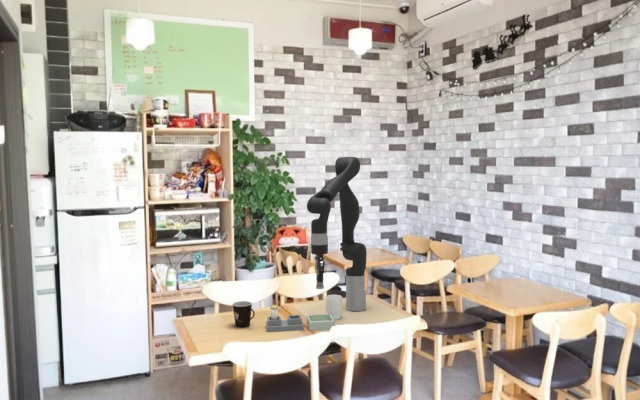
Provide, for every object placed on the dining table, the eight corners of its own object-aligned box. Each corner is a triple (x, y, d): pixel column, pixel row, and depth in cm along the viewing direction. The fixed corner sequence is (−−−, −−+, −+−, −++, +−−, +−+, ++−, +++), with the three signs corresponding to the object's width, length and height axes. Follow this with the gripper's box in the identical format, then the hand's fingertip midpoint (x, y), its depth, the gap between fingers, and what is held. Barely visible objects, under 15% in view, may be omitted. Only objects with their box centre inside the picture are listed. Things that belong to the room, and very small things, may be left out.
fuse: (277, 322, 233) (277, 304, 232) (278, 324, 230) (278, 307, 229) (270, 322, 233) (269, 305, 232) (270, 325, 229) (270, 307, 229)
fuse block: (301, 323, 238) (301, 313, 237) (303, 329, 229) (303, 319, 228) (266, 325, 235) (265, 315, 235) (267, 332, 226) (266, 321, 226)
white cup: (345, 317, 246) (345, 296, 245) (334, 321, 240) (334, 300, 239) (333, 314, 251) (332, 293, 250) (322, 318, 245) (321, 297, 244)
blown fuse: (323, 287, 234) (322, 269, 234) (324, 288, 231) (324, 271, 230) (315, 287, 234) (315, 269, 233) (316, 289, 231) (316, 271, 230)
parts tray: (330, 321, 240) (330, 313, 240) (334, 328, 229) (334, 321, 229) (306, 322, 239) (306, 315, 238) (309, 330, 228) (309, 322, 227)
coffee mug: (231, 324, 238) (230, 302, 237) (249, 321, 241) (248, 300, 240) (237, 331, 227) (236, 309, 226) (256, 329, 231) (256, 306, 230)
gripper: (330, 245, 225) (330, 284, 226) (325, 240, 238) (325, 277, 240) (313, 245, 223) (313, 285, 225) (308, 240, 237) (309, 278, 239)
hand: (319, 281), depth 232 cm, fingers closed on blown fuse, 3 cm apart
